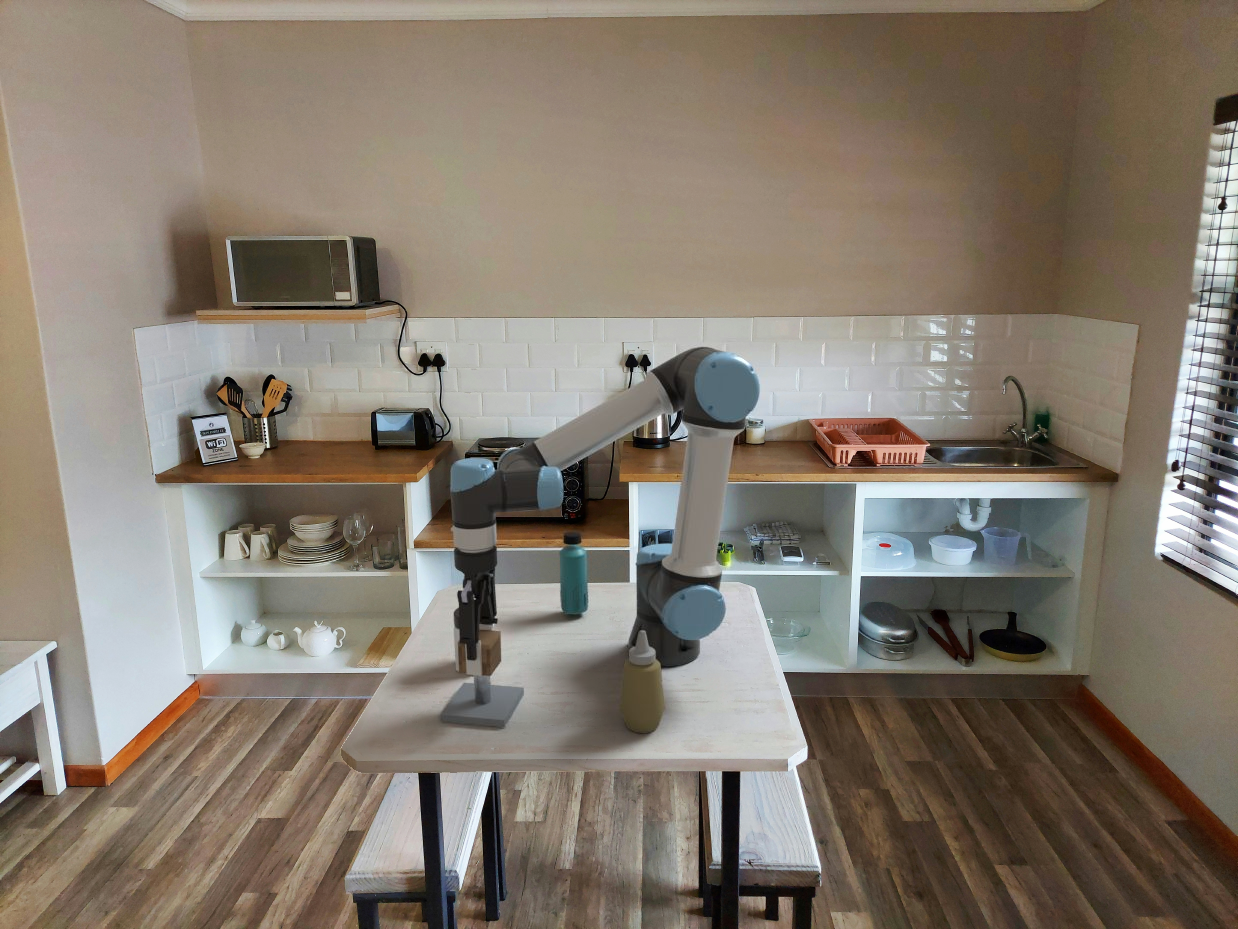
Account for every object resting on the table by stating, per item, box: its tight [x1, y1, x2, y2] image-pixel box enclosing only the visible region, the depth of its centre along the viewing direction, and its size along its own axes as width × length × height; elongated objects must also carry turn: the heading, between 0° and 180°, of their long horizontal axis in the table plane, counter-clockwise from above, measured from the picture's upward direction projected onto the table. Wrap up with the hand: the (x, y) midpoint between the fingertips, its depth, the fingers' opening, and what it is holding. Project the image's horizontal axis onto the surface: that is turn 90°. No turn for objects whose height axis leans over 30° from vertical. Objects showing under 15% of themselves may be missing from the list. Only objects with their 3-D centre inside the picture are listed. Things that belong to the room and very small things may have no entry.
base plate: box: [439, 682, 525, 728], centre depth 160 cm, size 12×12×2 cm
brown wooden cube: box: [458, 629, 502, 677], centre depth 157 cm, size 6×6×6 cm
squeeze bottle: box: [619, 630, 666, 734], centre depth 152 cm, size 8×8×18 cm
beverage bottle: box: [559, 531, 590, 615], centre depth 198 cm, size 6×7×20 cm
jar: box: [453, 607, 496, 672], centre depth 175 cm, size 9×8×12 cm
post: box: [473, 675, 492, 705], centre depth 158 cm, size 3×3×12 cm
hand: (480, 665), depth 158 cm, fingers closed on brown wooden cube, 6 cm apart
